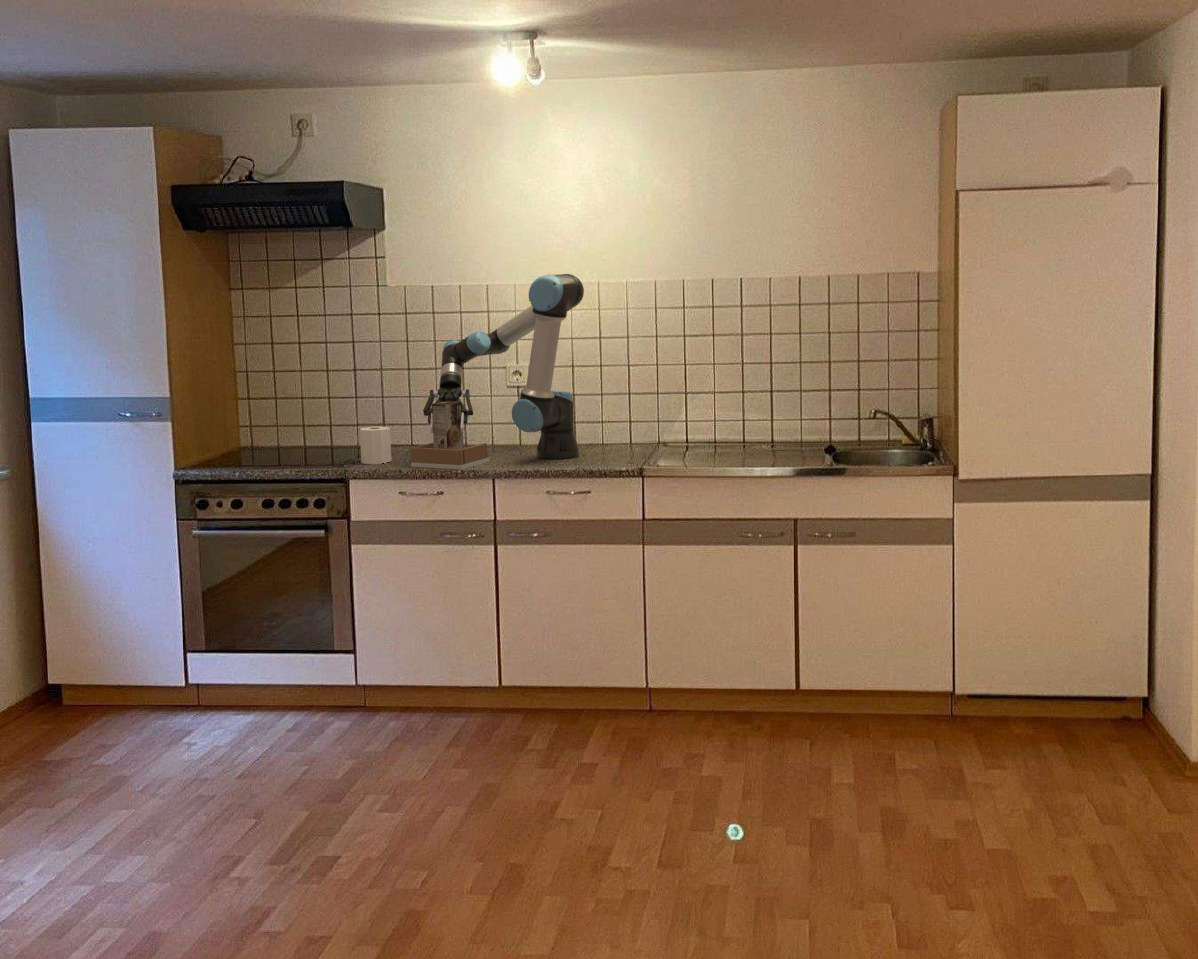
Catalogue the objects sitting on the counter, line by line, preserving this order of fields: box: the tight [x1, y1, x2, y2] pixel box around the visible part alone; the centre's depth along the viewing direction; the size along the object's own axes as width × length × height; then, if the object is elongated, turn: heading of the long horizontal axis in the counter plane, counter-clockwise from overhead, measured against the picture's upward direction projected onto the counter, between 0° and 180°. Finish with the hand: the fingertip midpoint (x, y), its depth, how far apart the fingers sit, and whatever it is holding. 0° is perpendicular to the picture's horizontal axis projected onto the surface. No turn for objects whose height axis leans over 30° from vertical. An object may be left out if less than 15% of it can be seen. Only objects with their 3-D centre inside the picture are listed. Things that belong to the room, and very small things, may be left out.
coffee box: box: [431, 401, 465, 450], centre depth 503 cm, size 9×6×16 cm
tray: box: [410, 441, 490, 470], centre depth 504 cm, size 20×18×6 cm
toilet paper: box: [359, 426, 392, 465], centre depth 513 cm, size 10×10×12 cm
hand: (446, 430), depth 500 cm, fingers closed on coffee box, 10 cm apart
